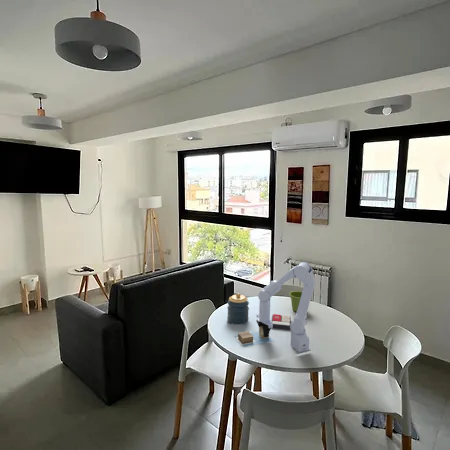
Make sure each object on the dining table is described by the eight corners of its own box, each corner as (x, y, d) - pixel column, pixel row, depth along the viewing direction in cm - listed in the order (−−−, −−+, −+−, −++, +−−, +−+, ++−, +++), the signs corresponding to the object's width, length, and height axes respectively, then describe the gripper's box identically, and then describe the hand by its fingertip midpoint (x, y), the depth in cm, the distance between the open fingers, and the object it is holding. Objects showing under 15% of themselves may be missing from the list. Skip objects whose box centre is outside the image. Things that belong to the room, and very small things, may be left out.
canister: (225, 324, 179) (225, 296, 176) (229, 315, 191) (230, 288, 189) (246, 327, 176) (247, 298, 173) (250, 317, 188) (250, 290, 186)
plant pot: (285, 308, 203) (285, 292, 201) (299, 305, 208) (299, 290, 206) (296, 315, 192) (297, 298, 191) (310, 312, 197) (311, 295, 196)
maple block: (268, 337, 162) (269, 328, 161) (262, 338, 160) (262, 330, 160) (265, 334, 165) (265, 325, 165) (258, 335, 164) (259, 326, 163)
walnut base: (253, 341, 157) (253, 336, 157) (242, 343, 155) (242, 338, 155) (248, 336, 163) (248, 331, 162) (238, 338, 161) (238, 332, 160)
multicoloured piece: (290, 315, 185) (290, 324, 170) (290, 321, 185) (290, 332, 171) (272, 313, 187) (271, 322, 173) (272, 320, 188) (271, 330, 173)
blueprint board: (274, 342, 159) (274, 340, 158) (243, 348, 152) (243, 346, 152) (263, 332, 170) (263, 330, 170) (234, 337, 163) (234, 335, 163)
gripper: (252, 306, 166) (251, 330, 168) (264, 317, 153) (263, 342, 155) (263, 305, 169) (262, 328, 171) (276, 315, 155) (275, 340, 157)
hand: (263, 334), depth 163 cm, fingers closed on maple block, 4 cm apart
